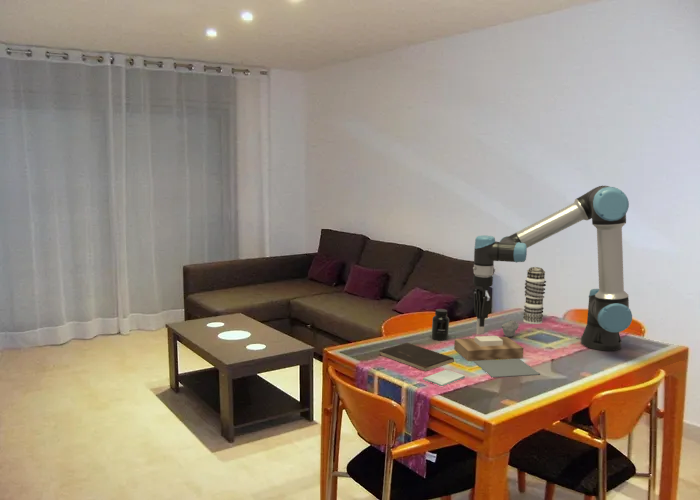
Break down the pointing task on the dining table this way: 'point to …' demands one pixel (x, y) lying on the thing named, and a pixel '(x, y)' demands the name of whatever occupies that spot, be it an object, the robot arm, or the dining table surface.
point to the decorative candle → (534, 295)
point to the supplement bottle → (440, 325)
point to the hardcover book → (416, 356)
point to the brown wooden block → (488, 350)
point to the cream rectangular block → (488, 341)
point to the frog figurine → (510, 328)
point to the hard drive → (444, 377)
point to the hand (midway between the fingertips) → (480, 333)
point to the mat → (506, 368)
